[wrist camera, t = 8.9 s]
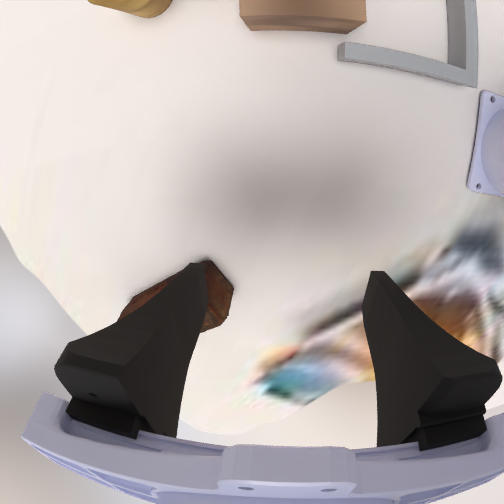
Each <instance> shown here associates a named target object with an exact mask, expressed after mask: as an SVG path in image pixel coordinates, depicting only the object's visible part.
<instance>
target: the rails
mask: <svg viewBox="0 0 504 504" xmlns="http://www.w3.org/2000/svg"><path fill="white" fill-rule="evenodd" d="M446 1H447V16H448V64H447V63H444V62H440V61H437V60H433V59H430V58H426V57H422V56H418V55H414V54H410V53H406V52H401V51H397V50H392V49H387V48H382V47H376V46H370V45H364V44H357V43H350V42H344V43H342V44H340V45H339V46H338V60H340V61H349V62H356V63H363V64H370V65H376V66H382V67H388V68H393V69H398V70H403V71H408V72H412V73H416V74H421V75H425V76H429V77H433V78H436V79H440V80H444V81H447V82H450V83H454V84H457V85H462V86H467V87H473V88H477V80H478V23H477V9H476V0H446Z"/></svg>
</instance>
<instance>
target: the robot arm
mask: <svg viewBox="0 0 504 504" xmlns="http://www.w3.org/2000/svg"><path fill="white" fill-rule="evenodd" d="M491 96H492V102H491V100H490V98H491ZM478 183H479V185H478V187H476V185H477V184H478ZM467 186H468V188H469V189H470V190H471V191H474V192H480V193H485V194H491V195H496V196H501V197H504V97H501V96H499V95H496V94H494V93H491V92H489V91H482V93H481V99H480V109H479V118H478V126H477V133H476V140H475V146H474V152H473V158H472V163H471V168H470V173H469V178H468V182H467ZM208 300H209V299H208V292H207V284H206V277H205V269H204V264H202V263H190V264H189V265H188V266H186V267H185V268H184V269H183V270H182V271H181V272H180V273H179V274H178V275H177V276H176V277H175V278H174V279H173V280H172V281H171V282H170V283H168V284H167V285H166V286H165V287H164V288H163V289H162V290H161V291H160V292H158V293H157V294H156V295H155V296H154V297H152V298H151V299H150V300H149V301H148V302H146V303H145V304H144V305H142V306H141V307H140V308H138V309H137V310H135V311H134V312H132V313H131V314H129V315H128V316H126V317H124V318H122V319H121V320H119V321H117V322H115V323H114V324H112V325H110V326H108V327H106V328H104V329H102V330H100V331H98V332H95V333H93V334H91V335H88V336H86V337H83V338H80V339H78V340H75V341H72V342H69V343H68V344H67V346H66V348H65V349H64V351H63V353H62V354H61V356H60V358H59V359H58V361H57V363H56V365H55V368H54V370H55V373H56V375H57V377H58V379H59V380H60V381H61V383H62V384H63V386H64V387H65V388H66V389H67V391H68V392H69V393H70V394H71V395H72V399H71V401H70V403H69V402H68V401H66V400H65V399H63V398H61V397H58V396H56V395H53V394H51V393H48V392H46V391H44V392H43V393H42V395H41V397H40V399H39V401H38V403H37V405H36V406H35V409H34V411H33V413H32V414H31V416H30V419H29V421H28V423H27V425H26V427H25V429H24V431H23V433H22V435H21V437H22V439H23V440H25V441H26V442H27V443H28V444H30V445H31V446H32V447H33V448H35V449H36V450H37V451H39V452H40V453H42V454H43V455H44V456H46V457H47V458H48V459H50V460H51V461H53V462H54V463H56V464H59V465H60V466H63V467H65V468H67V469H69V470H71V471H73V472H75V473H77V474H80V475H82V476H84V477H86V478H88V479H91V480H93V481H95V482H98V483H100V484H102V485H105V486H107V487H110V488H112V489H115V490H118V491H120V492H123V493H126V494H128V495H131V496H134V497H137V498H140V499H143V500H147V501H149V502H153V503H156V504H428V503H431V502H434V501H437V500H440V499H444V498H446V497H449V496H452V495H455V494H458V493H461V492H464V491H466V490H469V489H471V488H474V487H477V486H479V485H482V484H484V483H487V482H489V481H490V480H492V479H494V478H496V477H497V476H499V475H500V474H502V473H504V413H502V414H499V415H495V416H492V417H490V418H488V419H486V420H484V417H483V414H485V413H486V408H485V405H484V404H485V403H486V402H487V401H488V400H489V399H490V398H491V397H492V396H493V394H494V393H495V392H496V391H497V390H498V388H499V387H500V385H501V382H502V375H501V372H500V370H499V368H498V365H497V363H496V361H495V360H494V359H492V358H490V357H488V356H485V355H483V354H481V353H479V352H477V351H475V350H474V349H472V348H470V347H468V346H467V345H465V344H463V343H462V342H460V341H459V340H457V339H456V338H454V337H453V336H452V335H450V334H449V333H447V332H446V331H445V330H443V329H442V328H441V327H440V326H438V325H437V324H436V323H435V322H434V321H432V320H431V319H430V318H429V317H428V316H427V315H426V314H425V313H424V312H423V311H422V310H420V309H419V308H418V307H417V306H416V305H415V304H414V303H413V302H412V300H411V299H410V298H409V297H408V296H407V295H406V294H405V293H404V292H403V291H402V290H401V289H400V288H399V287H398V285H397V284H396V283H395V282H394V281H393V280H392V279H391V278H390V277H389V276H388V275H387V274H386V273H385V272H384V271H371V273H370V277H369V281H368V285H367V289H366V293H365V296H364V300H363V304H362V313H363V322H364V328H365V332H366V336H367V341H368V345H369V349H370V353H371V358H372V362H373V366H374V372H375V380H376V391H377V414H378V427H377V431H378V432H377V447H375V448H365V449H352V450H350V449H348V448H345V447H331V446H326V447H291V446H290V447H289V446H267V445H234V446H230V447H229V446H221V445H214V444H207V443H200V442H194V441H188V440H182V439H177V438H176V436H177V428H178V420H179V414H180V407H181V401H182V396H183V390H184V385H185V380H186V376H187V371H188V367H189V363H190V360H191V357H192V354H193V351H194V348H195V345H196V342H197V340H198V337H199V334H200V331H201V328H202V325H203V322H204V319H205V315H206V310H207V305H208Z"/></svg>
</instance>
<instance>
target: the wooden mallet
mask: <svg viewBox="0 0 504 504" xmlns="http://www.w3.org/2000/svg"><path fill="white" fill-rule="evenodd" d="M88 1H89V2H90V3H92V4H95V5H99V6H104V7H108V8H112V9H116V10H119V11H123V12H127V13H130V14H134V15H137V16H140V17H144V18H151V17H155V16H157V15H159V14H161V13H163V12H164V11H165V10H166V9H167V8H168V7H169V5H170V3H171V1H172V0H88ZM239 6H240V17H241V18H242V20H243V21H244V22H245V24H246V25H247V26H248V28H249V29H250V31H259V30H295V31H317V32H330V33H341V34H348V33H349V32H351V31H352V30H354V29H356V28H357V27H359V26H360V25H362V24H364V23H365V22H366V2H365V0H239Z"/></svg>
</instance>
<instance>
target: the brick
mask: <svg viewBox="0 0 504 504" xmlns="http://www.w3.org/2000/svg"><path fill="white" fill-rule="evenodd" d="M201 263H202V264H204V269H205V277H206V284H207V292H208V299H209V300H208V305H207V310H206V315H205V319H204V322H203V325H202V328H201V331H200V333H202V332H205V331H207V330H209V329H212V328H215V327H218V326H220V325H221V324H222V323H223V322H224V321H225V319H226V318H227V316H229V309H230V305H231V300H232V296H233V291H234V288H233V287H232V286H231V284H230V283H229V282H228V281H227V279H226V278H225V277H224V276H223V275H222V273H221V272H220V271H219V270H218V269H217V267H216V266H215V265H214V264H213V263H212V261H204V262H201ZM179 273H180V272H179ZM179 273H177V274H175V275H174V276H172V277H170V278H168V279H166V280H164V281H162V282H160V283H159V284H157V285H155V286H153V287H151V288H150V289H148V290H146V291H144V292H142V293H140V294H138V295H137V296H135V297H133V298H132V300H131V301H130V302H129V303H128V305H127V306H126V307H125V308H124V310H123V311H122V312H121V314H120V317H119V318H118V320H117V321H119V320H121V319H122V318H124V317H126V316H128V315H129V314H131V313H132V312H134V311H135V310H137V309H138V308H140V307H141V306H142V305H144V304H145V303H146V302H148V301H149V300H150V299H151V298H152V297H154V296H155V295H156V294H157V293H158V292H160V291H161V290H162V289H163V288H164V287H165V286H166V285H167V284H168V283H170V282H171V281H172V280H173V279H174V278H175V277H176V276H177V275H178V274H179Z"/></svg>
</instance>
